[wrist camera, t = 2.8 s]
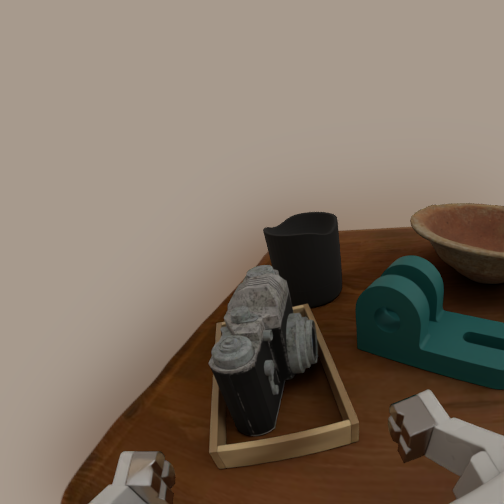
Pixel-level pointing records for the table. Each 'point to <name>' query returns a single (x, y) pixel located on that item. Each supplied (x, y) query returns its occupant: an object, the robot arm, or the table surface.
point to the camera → (261, 350)
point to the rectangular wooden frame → (288, 443)
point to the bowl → (466, 238)
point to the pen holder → (307, 257)
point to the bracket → (427, 326)
